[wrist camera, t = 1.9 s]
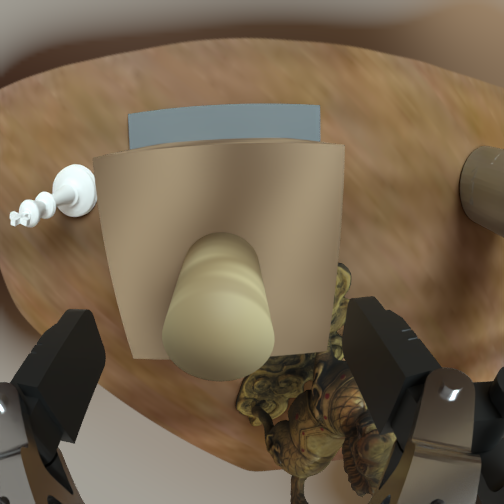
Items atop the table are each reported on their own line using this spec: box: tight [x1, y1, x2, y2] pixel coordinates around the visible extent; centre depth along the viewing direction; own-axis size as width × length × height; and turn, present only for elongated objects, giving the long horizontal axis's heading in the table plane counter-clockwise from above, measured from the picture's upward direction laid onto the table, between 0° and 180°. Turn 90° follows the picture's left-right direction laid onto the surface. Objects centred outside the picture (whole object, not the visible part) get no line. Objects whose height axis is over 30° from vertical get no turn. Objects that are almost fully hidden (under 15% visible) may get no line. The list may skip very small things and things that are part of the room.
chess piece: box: [10, 164, 97, 227], centre depth 20 cm, size 5×5×10 cm
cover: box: [93, 138, 345, 381], centre depth 17 cm, size 10×10×19 cm
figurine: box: [236, 263, 396, 504], centre depth 24 cm, size 13×25×20 cm, turn 161°
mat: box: [128, 104, 320, 150], centre depth 26 cm, size 16×16×1 cm
